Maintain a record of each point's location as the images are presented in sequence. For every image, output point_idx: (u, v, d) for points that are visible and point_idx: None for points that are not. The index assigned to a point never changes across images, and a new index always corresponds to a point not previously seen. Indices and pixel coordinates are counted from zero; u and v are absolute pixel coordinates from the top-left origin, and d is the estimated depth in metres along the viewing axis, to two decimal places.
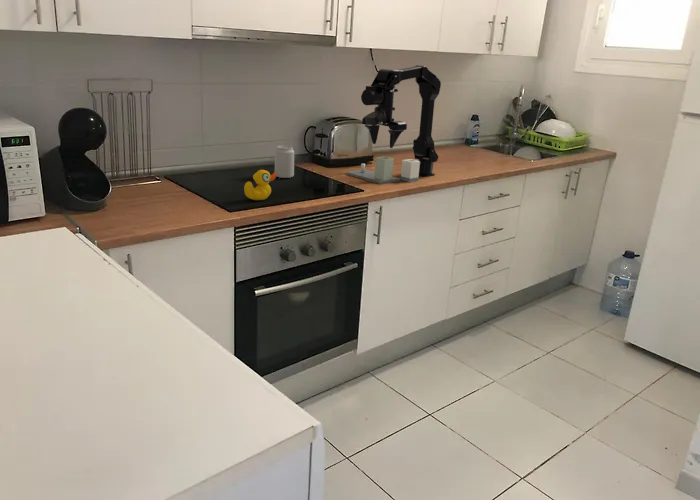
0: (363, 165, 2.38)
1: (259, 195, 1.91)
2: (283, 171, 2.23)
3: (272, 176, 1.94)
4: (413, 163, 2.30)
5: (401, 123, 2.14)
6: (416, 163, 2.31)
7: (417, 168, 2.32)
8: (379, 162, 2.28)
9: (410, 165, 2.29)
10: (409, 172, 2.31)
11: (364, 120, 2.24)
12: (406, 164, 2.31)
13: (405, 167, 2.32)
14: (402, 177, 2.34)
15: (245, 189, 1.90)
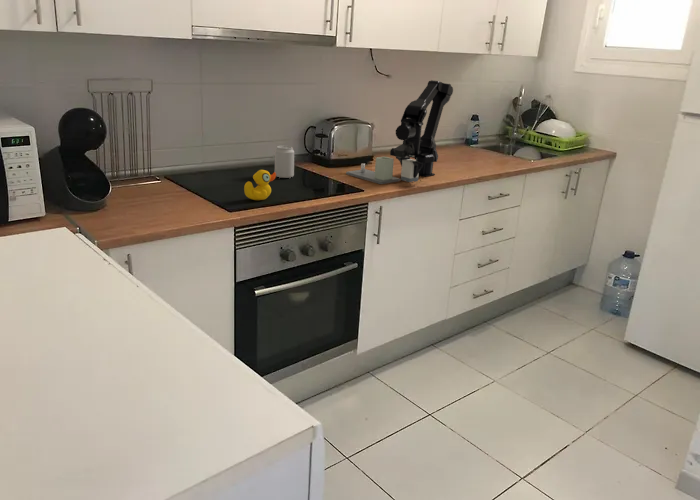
0: (363, 165, 2.38)
1: (259, 195, 1.91)
2: (283, 171, 2.23)
3: (272, 176, 1.94)
4: None
5: (429, 156, 2.25)
6: None
7: None
8: (379, 162, 2.28)
9: (410, 165, 2.29)
10: (409, 172, 2.31)
11: (392, 151, 2.34)
12: (406, 164, 2.31)
13: (405, 167, 2.32)
14: (402, 177, 2.34)
15: (245, 189, 1.90)
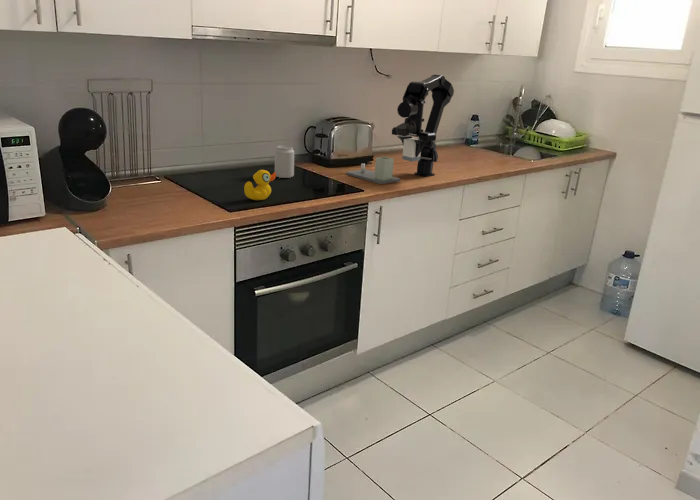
0: (363, 165, 2.38)
1: (259, 195, 1.91)
2: (283, 171, 2.23)
3: (272, 176, 1.94)
4: None
5: (431, 134, 2.22)
6: None
7: None
8: (379, 162, 2.28)
9: (412, 144, 2.27)
10: (411, 151, 2.28)
11: (394, 131, 2.32)
12: (408, 143, 2.28)
13: (407, 146, 2.29)
14: (404, 156, 2.31)
15: (245, 189, 1.90)
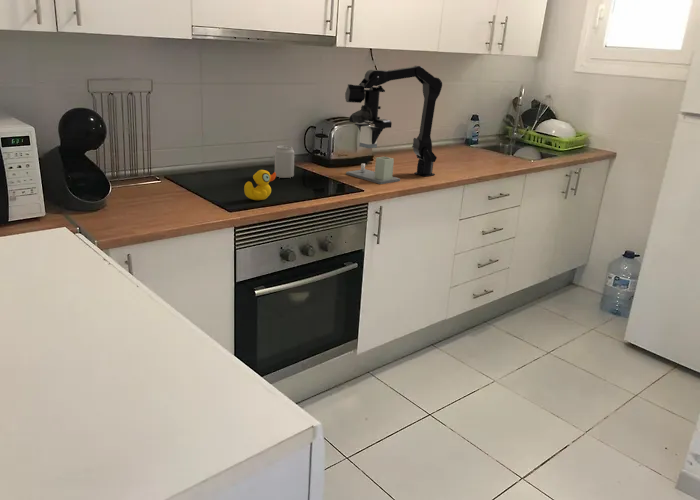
0: (363, 165, 2.38)
1: (259, 195, 1.91)
2: (283, 171, 2.23)
3: (272, 176, 1.94)
4: None
5: (386, 121, 2.25)
6: None
7: None
8: (379, 162, 2.28)
9: (368, 131, 2.30)
10: (367, 138, 2.31)
11: (351, 118, 2.35)
12: (364, 130, 2.31)
13: (363, 133, 2.32)
14: (361, 143, 2.34)
15: (245, 189, 1.90)
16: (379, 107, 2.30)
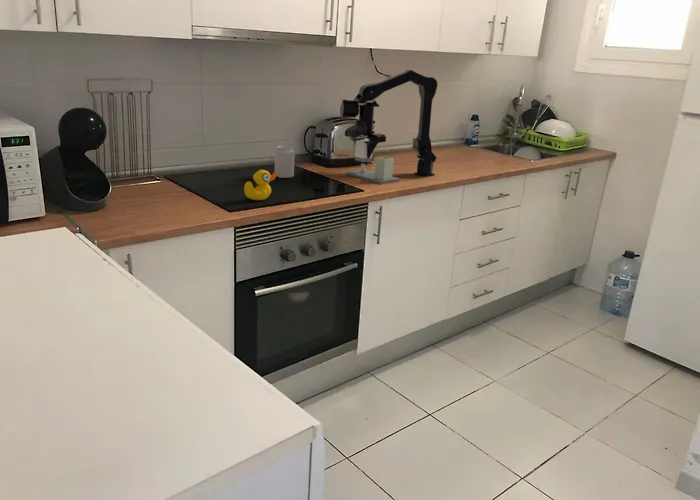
0: (363, 165, 2.38)
1: (259, 195, 1.91)
2: (283, 171, 2.23)
3: (272, 176, 1.94)
4: None
5: (380, 136, 2.28)
6: None
7: None
8: (379, 162, 2.28)
9: (363, 145, 2.33)
10: (362, 152, 2.34)
11: (346, 132, 2.38)
12: (359, 144, 2.34)
13: (358, 147, 2.35)
14: (356, 157, 2.37)
15: (245, 189, 1.90)
16: (374, 121, 2.32)
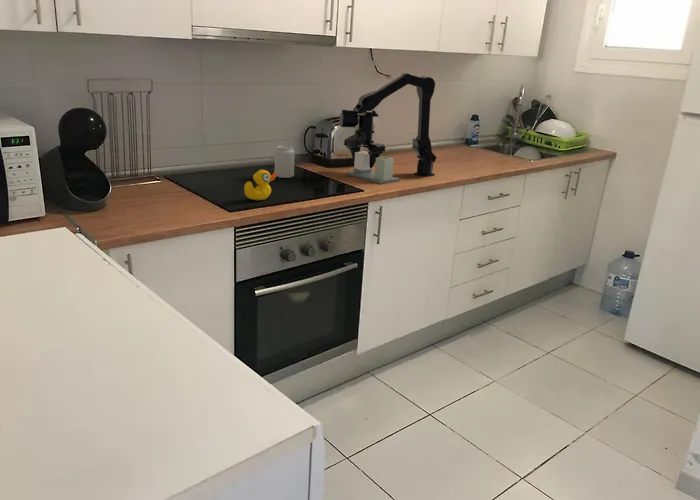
0: None
1: (259, 195, 1.91)
2: (283, 171, 2.23)
3: (272, 176, 1.94)
4: (365, 155, 2.34)
5: (380, 145, 2.29)
6: (368, 155, 2.36)
7: None
8: (379, 162, 2.28)
9: (362, 157, 2.34)
10: (361, 164, 2.35)
11: (346, 142, 2.39)
12: (358, 156, 2.36)
13: (358, 159, 2.36)
14: (355, 169, 2.39)
15: (245, 189, 1.90)
16: (373, 131, 2.34)
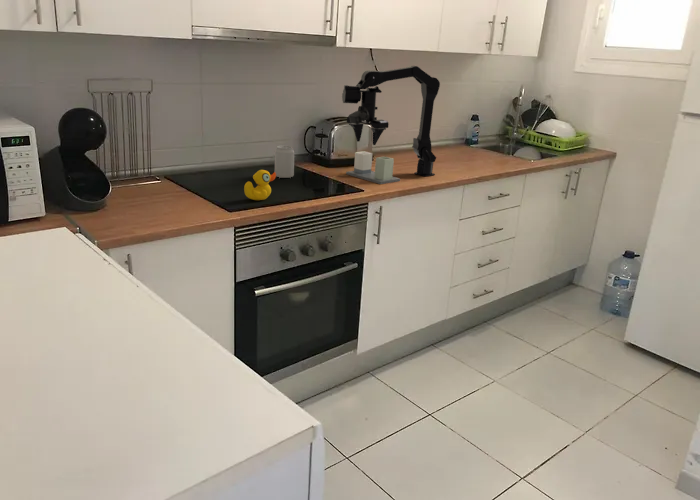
0: None
1: (259, 195, 1.91)
2: (283, 171, 2.23)
3: (272, 176, 1.94)
4: (365, 155, 2.34)
5: (383, 121, 2.27)
6: (368, 155, 2.36)
7: (370, 160, 2.37)
8: (379, 162, 2.28)
9: (362, 157, 2.34)
10: (361, 164, 2.35)
11: (348, 119, 2.37)
12: (358, 156, 2.36)
13: (358, 159, 2.36)
14: (355, 169, 2.39)
15: (245, 189, 1.90)
16: (376, 108, 2.31)
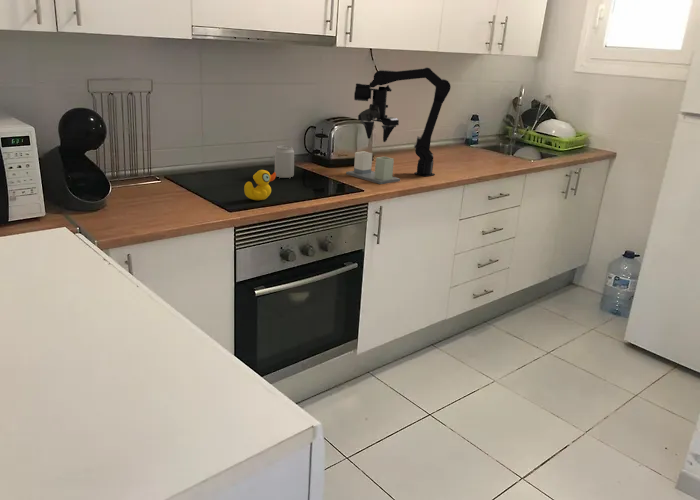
0: None
1: (259, 195, 1.91)
2: (283, 171, 2.23)
3: (272, 176, 1.94)
4: (365, 155, 2.34)
5: (393, 119, 2.34)
6: (368, 155, 2.36)
7: (370, 160, 2.37)
8: (379, 162, 2.28)
9: (362, 157, 2.34)
10: (361, 164, 2.35)
11: (360, 116, 2.44)
12: (358, 156, 2.36)
13: (358, 159, 2.36)
14: (355, 169, 2.39)
15: (245, 189, 1.90)
16: (387, 106, 2.39)
